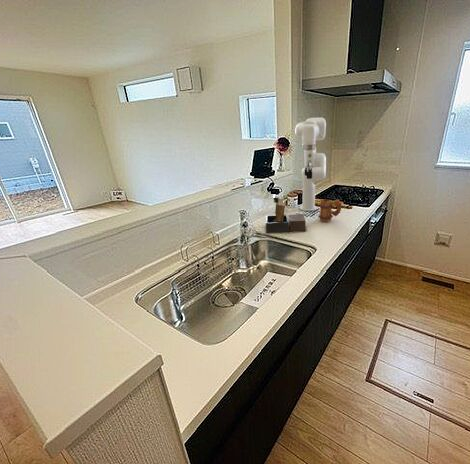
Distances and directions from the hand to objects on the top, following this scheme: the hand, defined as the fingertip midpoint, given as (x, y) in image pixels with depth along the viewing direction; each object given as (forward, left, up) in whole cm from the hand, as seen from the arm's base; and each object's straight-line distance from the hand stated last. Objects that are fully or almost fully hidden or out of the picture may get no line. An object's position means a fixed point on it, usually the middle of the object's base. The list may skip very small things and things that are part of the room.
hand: (308, 177), depth 154 cm
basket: (+8, -20, -30) cm, 37 cm away
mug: (-2, +15, -31) cm, 34 cm away
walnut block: (+5, -20, -26) cm, 33 cm away
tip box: (+8, -16, -17) cm, 24 cm away
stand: (+8, -8, -30) cm, 32 cm away
